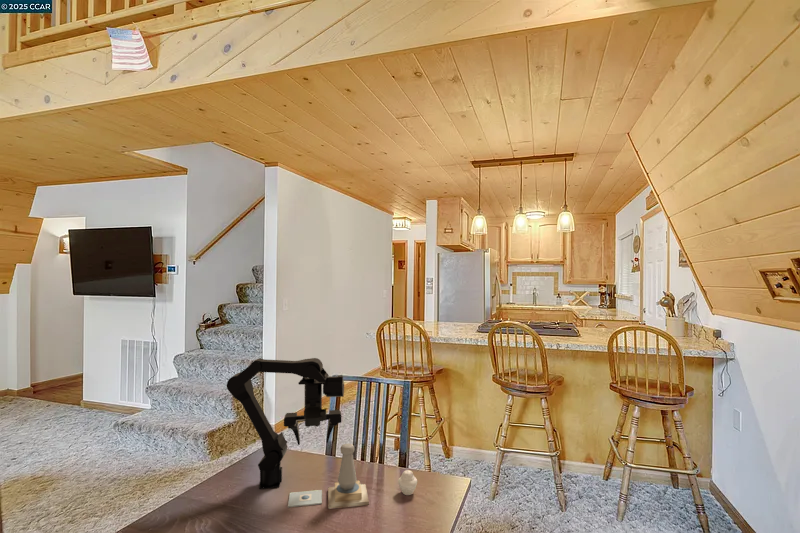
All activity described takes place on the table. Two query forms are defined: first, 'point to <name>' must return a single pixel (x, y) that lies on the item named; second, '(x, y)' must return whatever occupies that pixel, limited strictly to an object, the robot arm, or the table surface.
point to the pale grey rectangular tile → (305, 498)
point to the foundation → (347, 496)
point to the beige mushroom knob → (347, 468)
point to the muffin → (407, 482)
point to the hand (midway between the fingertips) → (313, 443)
